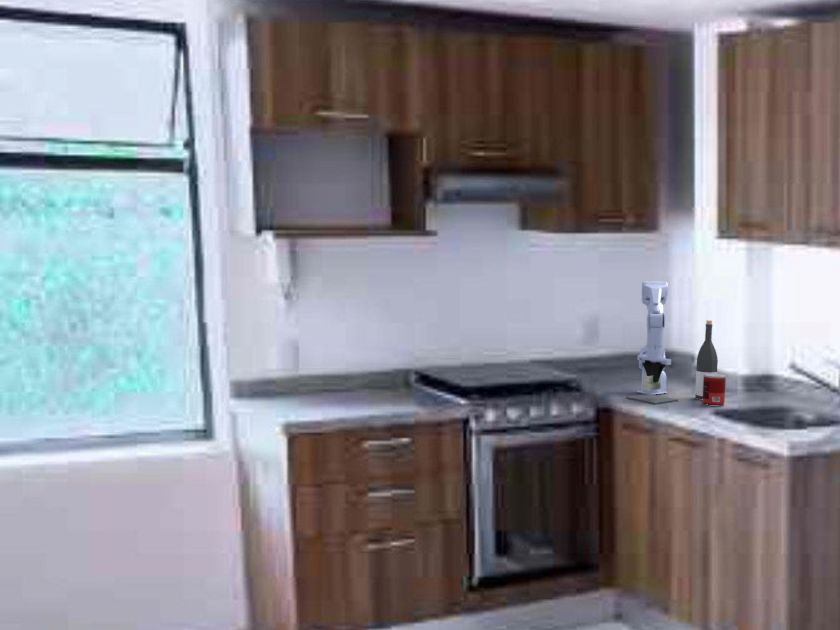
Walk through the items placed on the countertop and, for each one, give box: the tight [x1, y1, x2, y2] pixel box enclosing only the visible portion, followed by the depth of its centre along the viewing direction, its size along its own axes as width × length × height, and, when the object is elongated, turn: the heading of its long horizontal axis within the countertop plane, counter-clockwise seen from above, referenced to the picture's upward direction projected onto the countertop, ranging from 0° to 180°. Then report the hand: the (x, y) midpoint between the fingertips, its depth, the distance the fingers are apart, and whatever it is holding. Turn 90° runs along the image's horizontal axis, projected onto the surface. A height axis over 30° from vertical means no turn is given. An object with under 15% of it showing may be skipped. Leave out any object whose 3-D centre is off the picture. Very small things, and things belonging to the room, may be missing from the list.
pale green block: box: [644, 376, 661, 391], centre depth 380 cm, size 7×2×5 cm, turn 127°
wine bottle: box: [694, 319, 719, 400], centre depth 386 cm, size 8×8×30 cm
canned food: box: [702, 373, 727, 406], centre depth 375 cm, size 8×8×11 cm
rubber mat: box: [625, 394, 679, 405], centre depth 382 cm, size 13×14×1 cm
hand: (653, 381), depth 380 cm, fingers closed on pale green block, 2 cm apart
